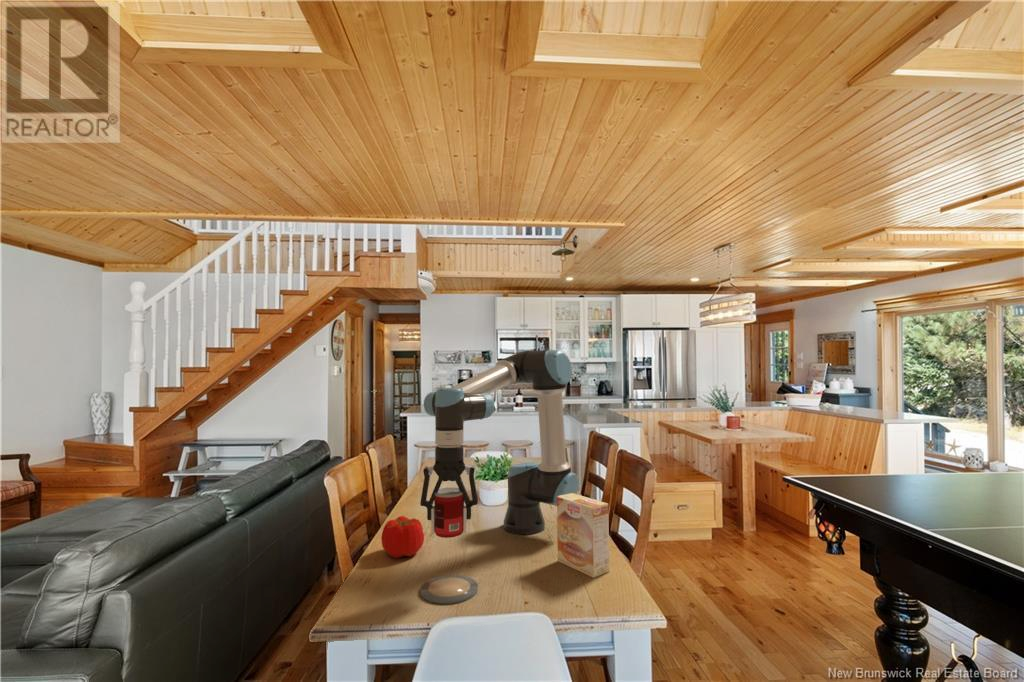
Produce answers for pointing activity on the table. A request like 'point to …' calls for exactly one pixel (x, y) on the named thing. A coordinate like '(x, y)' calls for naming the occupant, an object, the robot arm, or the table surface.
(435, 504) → the canned food
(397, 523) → the tomato
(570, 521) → the coffeecake box
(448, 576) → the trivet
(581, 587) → the table surface
